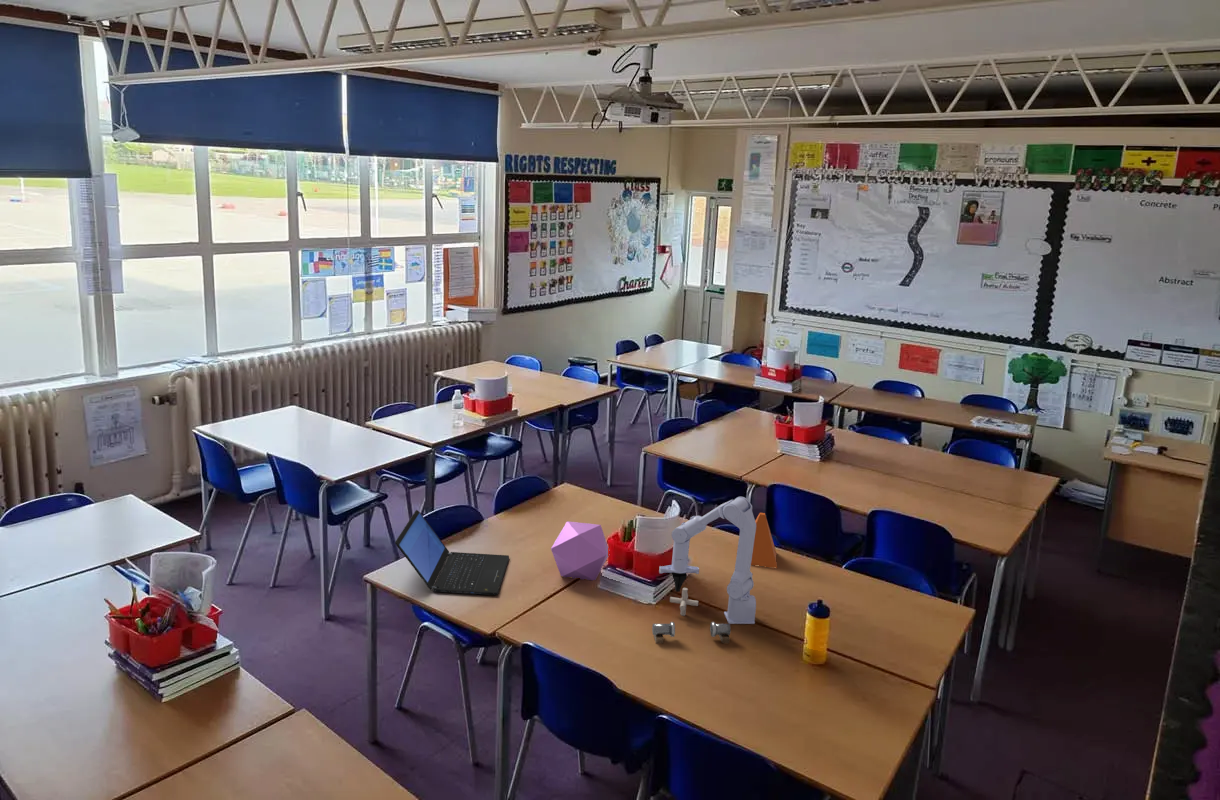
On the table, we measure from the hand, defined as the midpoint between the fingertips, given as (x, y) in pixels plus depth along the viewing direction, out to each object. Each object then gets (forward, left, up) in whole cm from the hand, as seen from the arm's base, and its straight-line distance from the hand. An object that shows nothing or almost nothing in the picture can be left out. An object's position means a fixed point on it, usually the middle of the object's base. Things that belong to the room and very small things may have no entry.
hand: (677, 590), depth 314 cm
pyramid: (-40, -34, -3) cm, 53 cm away
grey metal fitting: (+10, +30, -3) cm, 31 cm away
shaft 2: (-10, +30, -3) cm, 31 cm away
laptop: (+83, -18, -4) cm, 85 cm away
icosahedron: (+35, -18, -3) cm, 40 cm away
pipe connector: (0, +13, -3) cm, 13 cm away
